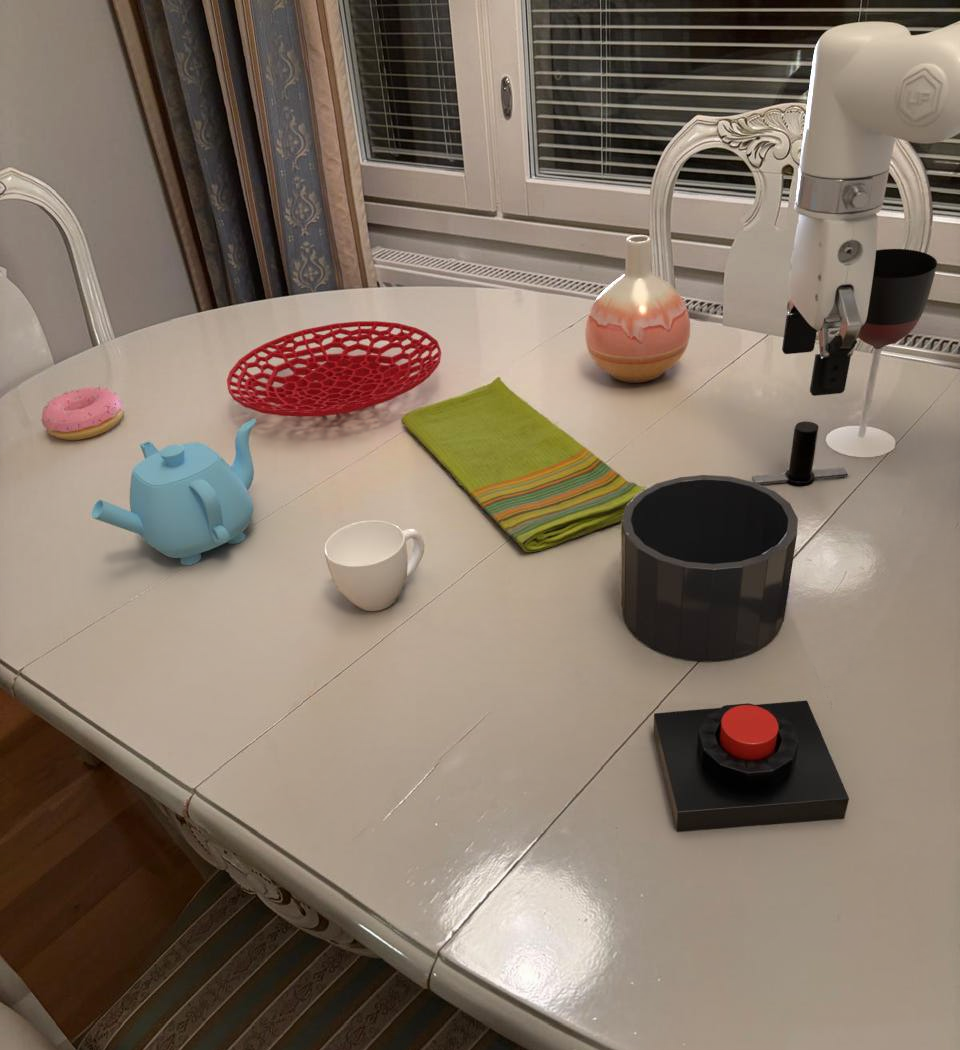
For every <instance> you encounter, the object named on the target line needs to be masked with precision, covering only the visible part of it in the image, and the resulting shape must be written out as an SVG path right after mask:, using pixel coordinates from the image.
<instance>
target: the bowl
mask: <svg viewBox="0 0 960 1050" xmlns="http://www.w3.org/2000/svg"><path fill="white" fill-rule="evenodd" d="M356 327H357V329H353V330H349V329H346V328H356ZM362 327H371V328H362ZM378 327H379V328H386V329H384V330H378V329H377V328H378ZM394 329H399V332H398V333H397V334H395V333H392V332H393V330H394ZM327 331H329V332H327ZM405 331H406V332H405ZM321 332H327V333H325V334H321ZM407 332H408V333H407ZM310 334H311V335H313V337H312V338H306V335H310ZM339 334H341V335H345V336H343V337H337V335H339ZM415 334H416V335H418V336H421V337H420V338H419V339H416V338H413V337H412V336H414V335H415ZM373 336H375V337H373ZM299 337H302V340H299V341H297V340H295V339H296V338H299ZM330 338H332V340H331V342H328V343H326V344H323V342H324V340H327V339H330ZM426 339H427V340H428V341H429V343H428V344H423V342H424V341H425V340H426ZM364 340H369V344H368V345H367V344H364V343H360V342H361V341H364ZM407 340H408V341H410V343H407V344H405V345H403V344H402V343H403V342H405V341H407ZM350 341H352V342H354V344H351V345H346V344H345V343H347V342H350ZM381 341H382V342H383V341H384V342H389V343H387V344H384V345H383V346H381V347H377V346H376V347H375V344H376V343H378V342H381ZM355 342H356V343H355ZM289 344H293V345H292V346H288V345H289ZM311 344H316V345H318V346H315V347H310V345H311ZM302 346H305V349H301V350H297V349H298V347H302ZM269 348H270V349H272V350H273V351H271V350H269ZM334 348H335V349H341V350H342V352H341V353H328V352H327V351H329V350H331V349H334ZM397 348H399V349H400V350H401V352H400V353H398V354H395V355H393V356H389V355H383V354H384V353H386V352H387V351H390V350H391V349H397ZM411 349H412V351H411V352H409V353H406V352H407V351H409V350H411ZM296 350H297V351H296ZM358 350H359V351H362V352H365V354H359V355H358V354H357V355H351V354H349V353H352V352H354V351H358ZM435 350H437V352H436V353H435V354H433V352H435ZM261 352H262V353H264V354H266V356H260V355H258V354H260V353H261ZM426 352H428V354H427V355H426V356H424V357H422V356H423V354H425V353H426ZM320 353H321V354H320ZM315 354H316V355H315ZM304 356H309V357H306V358H302V357H304ZM253 357H254V358H255V359H254V361H252V362H251V361H250V362H248V361H249V360H250V359H251V358H253ZM414 357H415V358H414ZM273 358H277V359H281V360H283V361H284V362H283V363H281V364H278V365H273V364H271V363H269V361H270V360H271V359H273ZM289 359H290V360H289ZM441 359H442V350H441V347H440V344H439V341H438V340H437V339H436V338H434V337H433V336H432V335H431V334H430V333H428V332H426V331H424V330H422V329H419V328H417V327H414V326H411V325H406V324H402V323H399V322H390V321H389V322H388V321H377V320H369V321H367V320H365V321H364V320H363V321H362V320H361V321H360V320H359V321H358V320H357V321H349V322H348V321H347V322H337V323H331V324H325V325H321V326H316V327H315V326H314V327H310V328H306V329H301V330H298V331H296V332H292V333H289V334H285V335H282V336H280V337H278V338H274V339H273V340H271V341H268V342H265V343H264V344H261V345H259V346H258V347H256V348H253V349H251V350H250V351H249V352H248V353H247V354H245V355H244V356H242V357H241V358H240V359H239V360H238V361H237V362H236V363H235V365H233V367H232V368H231V369H230V370H229V373H228V375H227V378H226V385H227V391H228V393H229V395H230V396H231V398H232V399H233V400H234V401H235V402H237V403H238V404H240V405H241V406H243V407H244V408H246V409H250V410H252V411H254V412H255V411H256V412H258V413H261V414H267V415H275V416H282V417H299V418H300V417H302V418H304V417H306V418H307V417H310V418H311V417H324V416H325V417H327V416H333V415H334V416H335V415H342V414H348V413H352V412H353V413H354V412H357V411H361V410H364V409H368V408H370V407H375V406H376V405H379V404H383V403H385V402H389V401H391V400H393V399H395V398H396V397H399V396H401V395H403V394H405V393H407V392H409V391H411V390H413V389H415V388H416V387H418V386H419V385H421V384H423V383H424V382H425V381H426V380H428V379H429V378H430V377H431V376H432V374H433V373H434V372H435V371H436V369H437V368H438V367H439V365H440V364H441ZM401 360H407V361H406V362H404V363H401V364H397V362H399V361H401ZM261 362H265V363H264V364H260V363H261ZM321 363H322V364H321ZM416 364H417V365H416ZM242 365H243V366H242ZM296 365H301V366H299V367H296ZM302 365H303V366H302ZM251 368H257V369H259V370H260V372H258V373H255V374H251V373H250V372H249V371H248V370H249V369H251ZM287 369H289V370H290V371H291V372H292V374H289V375H286V376H282V375H281V376H280V375H278V373H280V372H283V371H285V370H287ZM266 370H271V374H270V373H268V372H267V373H266V372H265V371H266ZM238 371H241V372H240V373H239V374H237V372H238ZM416 372H417V373H416ZM414 373H415V374H414ZM411 374H412V375H411ZM245 377H248V378H245ZM233 378H234V379H236V381H234V380H233ZM261 379H266V380H267V381H266V382H264V381H261ZM274 383H278V384H281V386H277V387H276V386H274ZM231 386H232V387H234V388H235V389H234V388H231ZM257 387H260V388H263V389H257ZM236 388H237V389H236ZM264 389H265V390H264ZM237 395H238V396H237ZM260 396H262V397H260ZM275 404H276V405H275Z"/></svg>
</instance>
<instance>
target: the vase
mask: <svg viewBox="0 0 960 1050" xmlns="http://www.w3.org/2000/svg"><path fill="white" fill-rule="evenodd" d="M584 335H585V343H586V348H587V351H588V353H589V356H590V357H591V359H592V360H593V361H594V363H595V364H596V365H597V367H599V368H600V369H601V370H602V371H604V372H605V373H607V374H608V375H610V376H611V377H612V378H613V379H614V380H617V381H619V382H623V383H630V384H631V383H632V384H639V383H640V384H641V383H647V382H650V381H651V382H652V381H654V380H656V379H658V378H660V377H661V376H662V375H663V374H664V373H666V372H667V371H668V370H670V369H671V368H672V367H674V366H675V365H676V364H677V363H679V361H680V359H681V358H682V356H683V355H684V353H685V352H686V351H687V348H688V345H689V341H690V337H691V319H690V315H689V310H688V308H687V305H686V303H685V301H684V299H683V297H682V296H681V294H680V293H679V292H678V291H677V290H676V289H675V288H674V287H673V286H672V285H671V284H670V283H668V282H667V281H666V280H665V279H663V278H661V277H660V276H659V275H657V274H655V273H654V272H652V238H651V236H649V235H644V234H635V235H631V236H629V237H627V238H626V242H625V270H624V273H623V274H622V275H621V276H620V277H618V278H617V279H615V280H614V281H613V282H611V283H610V284H609V285H608V286H606V287H605V289H603V291H602V292H600V294H598V296H597V298H596V299H595V301H594V302H593V304H592V306H591V308H590V311H589V312H588V315H587V319H586V324H585V334H584Z"/></svg>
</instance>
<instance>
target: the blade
mask: <svg viewBox="0 0 960 1050" xmlns="http://www.w3.org/2000/svg"><path fill="white" fill-rule="evenodd" d="M819 427H820V426H819V425H818V424H817V423H815V422H812V421H807V420H806V421H805V420H804V421H799V422H797V423H796V424H795V425H794V430H793V436H792V443H791V451H790V457H789V466H788V469H787V470H785V472H779V473H771V474H760V475H759V474H757V475H752V476H751V480H752V482H755V483H757V484H759V485H765V484H776V483H778V484H779V483H786V484H787V485H789V486H791V487H798V488H805V487H809V486H811V485H813V484H814V482H815V480H818V479H820V480H821V479H828V478H829V479H830V478H839V477H847V476H849V473H848V471H847V470H846V468H845V467H832V468H831V467H830V468H822V469H813V467H814V462H815V461H814V460H815V455H816V448H817V442H818V435H819V430H820V428H819Z"/></svg>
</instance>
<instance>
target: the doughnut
mask: <svg viewBox="0 0 960 1050" xmlns="http://www.w3.org/2000/svg"><path fill="white" fill-rule="evenodd" d="M123 413H124V409H123V402H122V400H121V398H120V397H119V396H118V395H117V392H114V391H112V390H111V389H108V388H104V387H101V386H98V387H97V386H96V387H95V386H94V387H90V386H89V387H83V388H77V389H74V390H71V391H70V390H69V391H65V392H63V393H62V394H60V395H59V396H57V397H54V398H53V399H51V400H50V401H47V404H46V405H45V406H44V407H43V408H42V412H41V419H40V421H41V424H42V426H43V427H44V428H45V429H46V431H47V433H48V434H50V435H52V436H53V437H55V438H58V439H61V440H68V441H71V440H72V441H75V440H77V441H78V440H84V439H89V438H93V437H96V436H98V435H101V434H103V433H105V432H107V431H109V430H111V429H113V427H115V426H117V424H118V423H119V422H120V420H121V419H122V417H123Z"/></svg>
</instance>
